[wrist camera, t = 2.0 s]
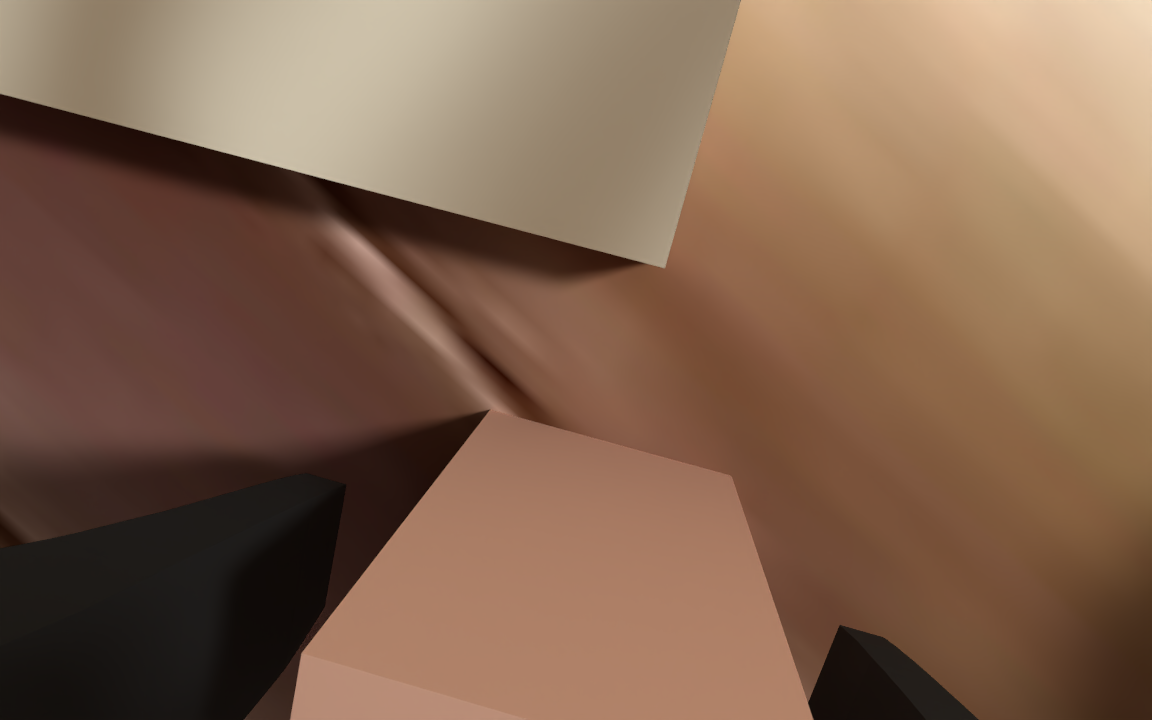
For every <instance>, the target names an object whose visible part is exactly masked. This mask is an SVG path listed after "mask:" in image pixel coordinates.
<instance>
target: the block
mask: <svg viewBox="0 0 1152 720" xmlns="http://www.w3.org/2000/svg"><path fill="white" fill-rule="evenodd" d="M290 720H813V717H812V714H811V711H810V708H809V705H808V702H807V699H806V696H805V693H804V690H803V687H802V684H801V681H800V678H799V675H798V672H797V670H796V667H795V664H794V661H793V658H792V655H791V652H790V649H789V646H788V643H787V640H786V637H785V634H784V631H783V628H782V625H781V622H780V619H779V616H778V613H777V610H776V607H775V604H774V601H773V598H772V595H771V592H770V589H769V586H768V583H767V580H766V577H765V574H764V571H763V568H762V566H761V563H760V560H759V557H758V554H757V551H756V548H755V545H754V542H753V539H752V536H751V533H750V530H749V527H748V524H747V521H746V518H745V515H744V512H743V509H742V506H741V503H740V500H739V497H738V494H737V491H736V488H735V485H734V482H733V479H732V476H730V475H727V474H723V473H719V472H716V471H712V470H708V469H705V468H701V467H698V466H694V465H690V464H687V463H683V462H679V461H676V460H672V459H668V458H665V457H661V456H657V455H654V454H650V453H646V452H643V451H639V450H636V449H632V448H628V447H625V446H621V445H617V444H614V443H610V442H606V441H603V440H599V439H595V438H592V437H588V436H585V435H581V434H577V433H574V432H570V431H566V430H563V429H559V428H555V427H552V426H548V425H544V424H541V423H537V422H533V421H530V420H526V419H523V418H519V417H515V416H512V415H508V414H504V413H501V412H497V411H493V410H490V411H489V412H488V413H487V415H486V416H485V417H484V418H483V420H482V421H481V422H480V424H479V425H478V426H477V427H476V429H475V430H474V431H473V433H472V434H471V435H470V436H469V438H468V439H467V440H466V442H465V443H464V444H463V445H462V447H461V448H460V449H459V451H458V452H457V453H456V455H455V456H454V457H453V458H452V460H451V461H450V462H449V464H448V465H447V466H446V467H445V469H444V470H443V471H442V473H441V474H440V475H439V476H438V478H437V479H436V480H435V482H434V483H433V484H432V485H431V487H430V488H429V489H428V491H427V492H426V493H425V495H424V496H423V497H422V498H421V500H420V501H419V502H418V504H417V505H416V506H415V507H414V509H413V510H412V511H411V513H410V514H409V515H408V516H407V518H406V519H405V520H404V522H403V523H402V524H401V525H400V527H399V528H398V529H397V531H396V532H395V533H394V535H393V536H392V537H391V538H390V540H389V541H388V542H387V544H386V545H385V546H384V547H383V549H382V550H381V551H380V553H379V554H378V555H377V556H376V558H375V559H374V560H373V562H372V563H371V564H370V565H369V567H368V568H367V569H366V571H365V572H364V573H363V574H362V576H361V577H360V578H359V580H358V581H357V582H356V584H355V585H354V586H353V587H352V589H351V590H350V591H349V593H348V594H347V595H346V596H345V598H344V599H343V600H342V602H341V603H340V604H339V605H338V607H337V608H336V609H335V611H334V612H333V613H332V614H331V616H330V617H329V618H328V620H327V621H326V622H325V624H324V625H323V626H322V627H321V629H320V630H319V631H318V633H317V634H316V635H315V636H314V638H313V639H312V640H311V642H310V643H309V644H308V645H307V647H306V648H305V649H304V651H303V652H302V654H301V660H300V665H299V671H298V677H297V683H296V689H295V694H294V700H293V706H292V712H291V718H290Z"/></svg>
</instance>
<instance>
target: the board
mask: <svg viewBox="0 0 1152 720" xmlns="http://www.w3.org/2000/svg"><path fill="white" fill-rule="evenodd" d="M740 2H741V0H0V94H3V95H7V96H11V97H15V98H19V99H22V100H26V101H30V102H34V103H38V104H41V105H45V106H49V107H53V108H57V109H60V110H64V111H68V112H72V113H76V114H79V115H83V116H87V117H91V118H95V119H99V120H102V121H106V122H110V123H114V124H118V125H121V126H125V127H129V128H133V129H137V130H140V131H144V132H148V133H152V134H156V135H159V136H163V137H167V138H171V139H175V140H178V141H182V142H186V143H190V144H194V145H197V146H201V147H205V148H209V149H213V150H216V151H220V152H224V153H228V154H232V155H236V156H239V157H243V158H247V159H251V160H255V161H258V162H262V163H266V164H270V165H274V166H277V167H281V168H285V169H289V170H293V171H296V172H300V173H304V174H308V175H312V176H315V177H319V178H323V179H327V180H331V181H334V182H338V183H342V184H346V185H350V186H353V187H357V188H361V189H365V190H369V191H372V192H376V193H380V194H384V195H388V196H392V197H395V198H399V199H403V200H407V201H411V202H414V203H418V204H422V205H426V206H430V207H433V208H437V209H441V210H445V211H449V212H452V213H456V214H460V215H464V216H468V217H471V218H475V219H479V220H483V221H487V222H490V223H494V224H498V225H502V226H506V227H509V228H513V229H517V230H521V231H525V232H529V233H532V234H536V235H540V236H544V237H548V238H551V239H555V240H559V241H563V242H567V243H570V244H574V245H578V246H582V247H586V248H589V249H593V250H597V251H601V252H605V253H608V254H612V255H616V256H620V257H624V258H627V259H631V260H635V261H639V262H643V263H646V264H650V265H654V266H658V267H662V268H665V266H666V262H667V259H668V255H669V252H670V248H671V245H672V241H673V238H674V234H675V230H676V227H677V223H678V220H679V216H680V213H681V209H682V206H683V202H684V199H685V195H686V192H687V188H688V185H689V181H690V178H691V174H692V171H693V167H694V164H695V160H696V157H697V153H698V149H699V146H700V142H701V139H702V135H703V132H704V128H705V125H706V121H707V118H708V114H709V111H710V107H711V104H712V100H713V97H714V93H715V90H716V86H717V83H718V79H719V76H720V72H721V68H722V65H723V61H724V58H725V54H726V51H727V47H728V44H729V40H730V37H731V33H732V30H733V26H734V23H735V19H736V16H737V12H738V9H739V5H740Z"/></svg>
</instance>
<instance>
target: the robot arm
mask: <svg viewBox="0 0 1152 720" xmlns="http://www.w3.org/2000/svg"><path fill="white" fill-rule="evenodd" d="M345 489H346V484H342V483H339V482H335V481H332V480H328V479H325V478H321V477H318V476H314V475H311V474H307V473H305V474H299V475H294V476H289V477H285V478H281V479H277V480H273V481H270V482H266V483H262V484H259V485H255V486H252V487H248V488H245V489H241V490H238V491H234V492H231V493H227V494H224V495H220V496H217V497H213V498H210V499H206V500H203V501H199V502H196V503H192V504H189V505H185V506H182V507H178V508H174V509H171V510H167V511H164V512H159V513H155V514H151V515H147V516H143V517H139V518H135V519H131V520H127V521H123V522H119V523H115V524H111V525H107V526H103V527H99V528H95V529H91V530H87V531H83V532H79V533H75V534H70V535H66V536H61V537H56V538H52V539H47V540H42V541H37V542H32V543H27V544H22V545H17V546H11V547H6V548H0V720H244V719H245V717H246V716H247V715H248V714H249V712H250V711H251V710H252V709H253V708H254V706H255V705H256V704H257V703H258V701H259V700H260V699H261V698H262V697H263V695H264V694H265V693H266V692H267V690H268V689H269V688H270V687H271V686H272V684H273V683H274V682H275V681H276V679H277V678H278V677H279V676H280V674H281V673H282V672H283V671H284V669H285V668H286V666H287V665H288V663H289V662H290V660H291V659H292V657H293V656H294V654H295V653H296V651H297V650H298V648H299V647H300V645H301V644H302V642H303V641H304V639H305V637H306V636H307V634H308V633H309V631H310V629H311V628H312V626H313V624H314V623H315V621H316V620H317V618H318V616H319V615H320V613H321V612H322V610H323V608H324V607H325V601H326V596H327V590H328V585H329V579H330V573H331V568H332V562H333V557H334V551H335V545H336V540H337V534H338V529H339V523H340V517H341V512H342V506H343V501H344V495H345ZM808 705H809V708H810V711H811V714H812V717H813V720H978V719H977V718H976V717H975V716H974V715H973V714H972V713H971V712H970V711H969V710H967V709H966V708H965V707H964V706H963V705H962V704H961V703H960V702H959V701H958V700H956V699H955V698H954V697H953V696H952V695H951V694H950V693H949V692H948V691H947V690H946V689H944V688H943V687H942V686H941V685H940V684H939V683H938V682H937V681H936V680H934V679H933V678H932V677H931V676H930V675H929V674H928V673H927V672H925V671H924V670H923V669H922V668H921V667H920V666H919V665H917V664H916V663H915V662H914V661H913V660H912V659H910V658H909V657H908V656H907V655H906V654H904V653H903V652H902V651H901V650H900V649H898V648H897V647H896V646H894V645H893V644H892V643H890V642H889V641H888V640H886V639H885V638H883V637H880V636H877V635H873V634H870V633H866V632H863V631H859V630H856V629H852V628H849V627H845V626H841V625H840V626H839V628H838V631H837V633H836V636H835V638H834V641H833V643H832V645H831V648H830V650H829V653H828V655H827V658H826V660H825V663H824V665H823V668H822V670H821V673H820V675H819V678H818V680H817V683H816V685H815V688H814V690H813V692H812V695H811V697H810V700H809V702H808Z"/></svg>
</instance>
